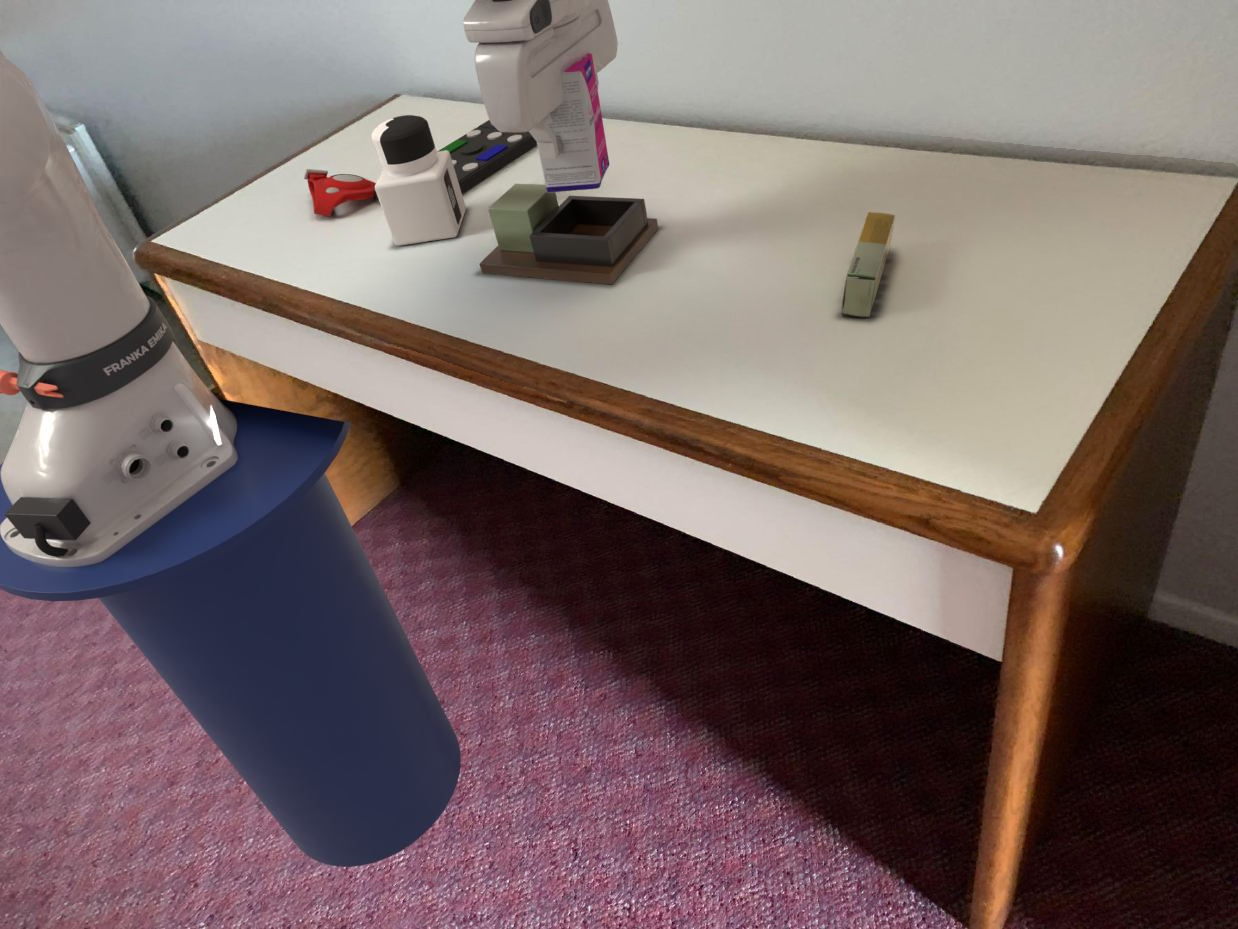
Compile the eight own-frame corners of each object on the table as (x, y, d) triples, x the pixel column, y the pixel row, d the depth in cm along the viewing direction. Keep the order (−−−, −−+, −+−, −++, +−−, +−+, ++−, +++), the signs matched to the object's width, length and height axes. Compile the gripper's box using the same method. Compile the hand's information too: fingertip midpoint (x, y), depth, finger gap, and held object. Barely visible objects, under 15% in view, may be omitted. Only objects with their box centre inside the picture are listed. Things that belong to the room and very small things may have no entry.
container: (467, 209, 115) (436, 104, 107) (457, 237, 109) (424, 129, 101) (407, 218, 116) (372, 115, 108) (394, 247, 110) (356, 140, 102)
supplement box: (602, 188, 92) (579, 71, 85) (545, 193, 94) (518, 78, 86) (612, 164, 96) (592, 50, 89) (558, 169, 98) (533, 57, 91)
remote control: (580, 116, 133) (577, 102, 132) (435, 211, 116) (430, 196, 115) (522, 110, 139) (519, 97, 138) (376, 200, 122) (371, 186, 121)
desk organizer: (612, 284, 94) (600, 228, 90) (482, 273, 101) (466, 221, 97) (658, 228, 102) (650, 174, 98) (534, 221, 109) (522, 171, 105)
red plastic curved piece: (391, 175, 125) (354, 190, 116) (391, 207, 127) (355, 225, 119) (309, 159, 127) (267, 173, 118) (311, 192, 129) (270, 208, 121)
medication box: (871, 319, 82) (876, 280, 79) (840, 315, 83) (844, 276, 80) (890, 249, 90) (895, 211, 87) (862, 246, 91) (866, 208, 88)
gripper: (562, -41, 92) (589, 99, 100) (451, 29, 78) (493, 183, 87) (619, -46, 89) (641, 99, 98) (513, 26, 76) (550, 186, 85)
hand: (570, 139), depth 92 cm, fingers closed on supplement box, 6 cm apart
